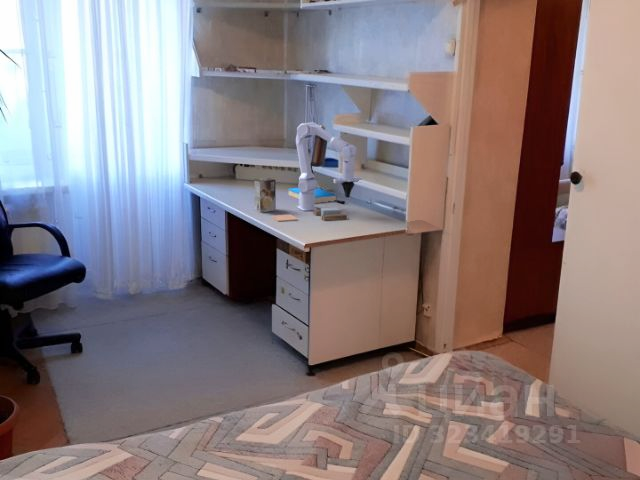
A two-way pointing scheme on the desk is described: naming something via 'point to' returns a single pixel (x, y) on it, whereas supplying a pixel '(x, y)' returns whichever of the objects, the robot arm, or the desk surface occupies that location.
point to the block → (329, 211)
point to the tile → (284, 218)
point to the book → (319, 195)
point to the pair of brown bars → (330, 216)
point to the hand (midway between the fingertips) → (347, 196)
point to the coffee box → (265, 194)
